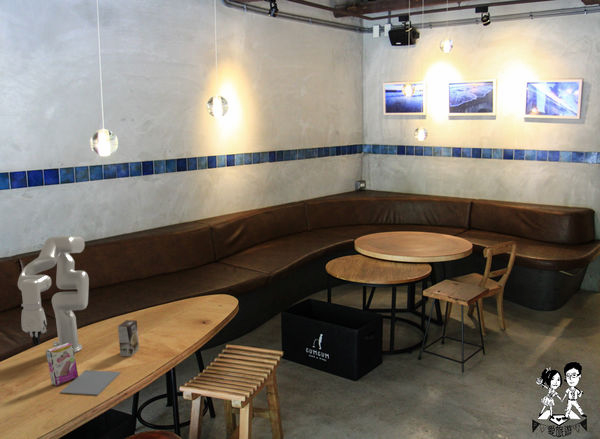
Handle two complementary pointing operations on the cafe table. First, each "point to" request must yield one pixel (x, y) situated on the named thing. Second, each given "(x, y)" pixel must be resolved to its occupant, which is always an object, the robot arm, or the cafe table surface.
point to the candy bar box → (62, 363)
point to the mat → (91, 382)
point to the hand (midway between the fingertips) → (36, 344)
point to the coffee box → (128, 338)
